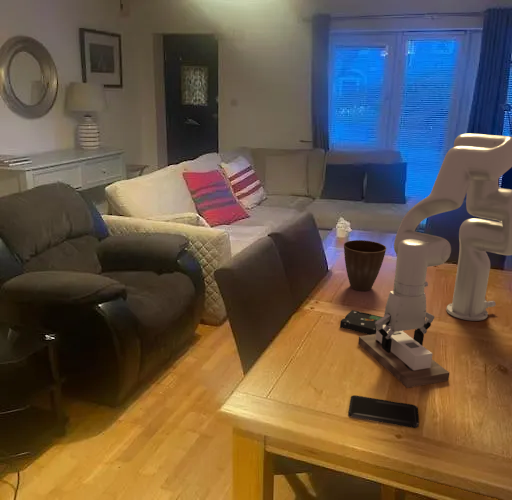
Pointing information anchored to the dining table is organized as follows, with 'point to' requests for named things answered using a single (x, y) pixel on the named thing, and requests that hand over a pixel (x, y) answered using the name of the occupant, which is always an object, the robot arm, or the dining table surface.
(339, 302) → the dining table surface
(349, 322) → the disk drive
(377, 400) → the phone
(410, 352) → the power strip
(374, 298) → the dining table surface
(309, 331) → the dining table surface
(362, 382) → the dining table surface
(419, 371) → the slot board
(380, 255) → the plant pot
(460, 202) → the robot arm
